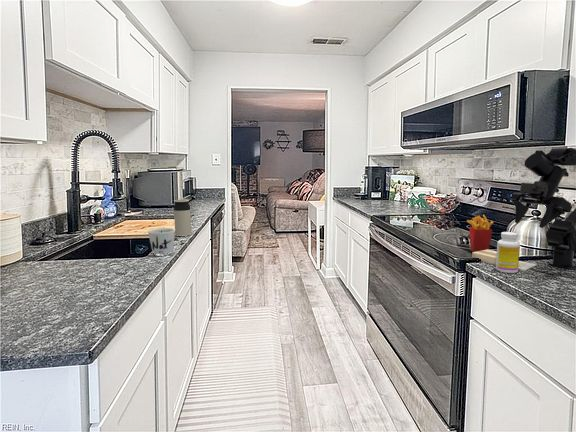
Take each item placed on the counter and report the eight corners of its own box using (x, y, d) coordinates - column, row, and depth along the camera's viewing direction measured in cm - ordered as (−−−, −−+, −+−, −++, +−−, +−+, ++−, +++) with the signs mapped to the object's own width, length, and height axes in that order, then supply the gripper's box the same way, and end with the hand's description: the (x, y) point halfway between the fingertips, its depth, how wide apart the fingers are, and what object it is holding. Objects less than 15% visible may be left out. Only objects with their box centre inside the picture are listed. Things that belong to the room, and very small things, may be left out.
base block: (487, 255, 155) (487, 249, 154) (509, 260, 147) (510, 254, 146) (471, 258, 150) (472, 252, 150) (494, 264, 143) (494, 257, 142)
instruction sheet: (513, 260, 148) (513, 259, 147) (537, 264, 141) (537, 264, 141) (500, 265, 141) (500, 264, 141) (525, 270, 135) (525, 269, 135)
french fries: (491, 254, 156) (494, 216, 154) (469, 254, 157) (471, 216, 154) (482, 249, 165) (484, 213, 162) (461, 249, 165) (463, 213, 163)
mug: (147, 258, 159) (146, 233, 157) (152, 249, 173) (151, 227, 172) (175, 256, 161) (173, 232, 159) (177, 248, 175) (176, 225, 174)
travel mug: (185, 237, 198) (183, 201, 195) (172, 236, 201) (169, 200, 198) (194, 234, 206) (192, 199, 203) (181, 233, 208) (179, 199, 206)
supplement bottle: (521, 274, 131) (524, 235, 129) (499, 273, 132) (501, 234, 130) (514, 268, 137) (516, 231, 136) (493, 267, 139) (495, 231, 137)
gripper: (509, 170, 139) (489, 211, 138) (560, 172, 121) (538, 218, 121) (529, 185, 143) (510, 224, 142) (582, 189, 125) (560, 234, 125)
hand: (528, 225), depth 132 cm, fingers open, 9 cm apart
